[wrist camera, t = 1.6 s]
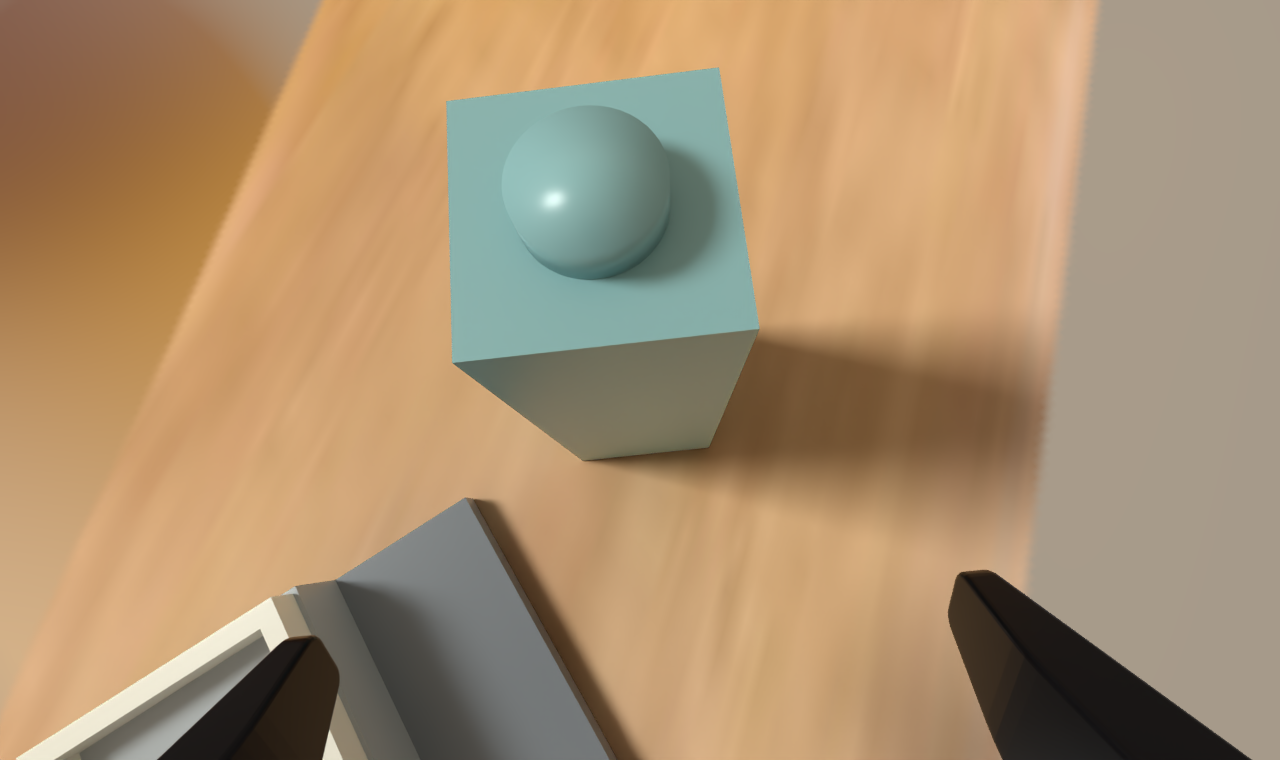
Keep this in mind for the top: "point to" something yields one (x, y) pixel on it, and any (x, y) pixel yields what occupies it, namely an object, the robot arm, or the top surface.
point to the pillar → (601, 259)
